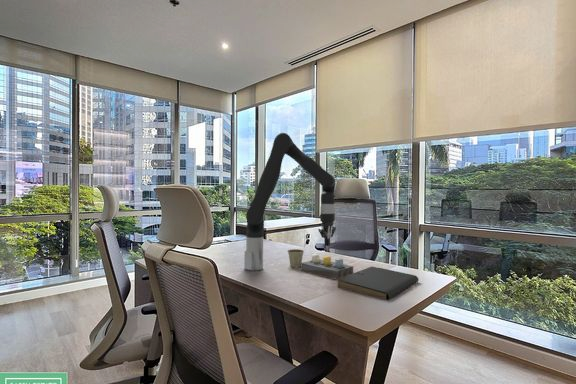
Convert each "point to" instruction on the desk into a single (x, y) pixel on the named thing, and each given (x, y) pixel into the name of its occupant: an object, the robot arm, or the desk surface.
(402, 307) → the desk surface
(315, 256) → the ivory button
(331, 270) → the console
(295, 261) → the flower pot
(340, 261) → the slate button
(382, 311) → the desk surface
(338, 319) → the desk surface
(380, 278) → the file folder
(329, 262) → the amber button
